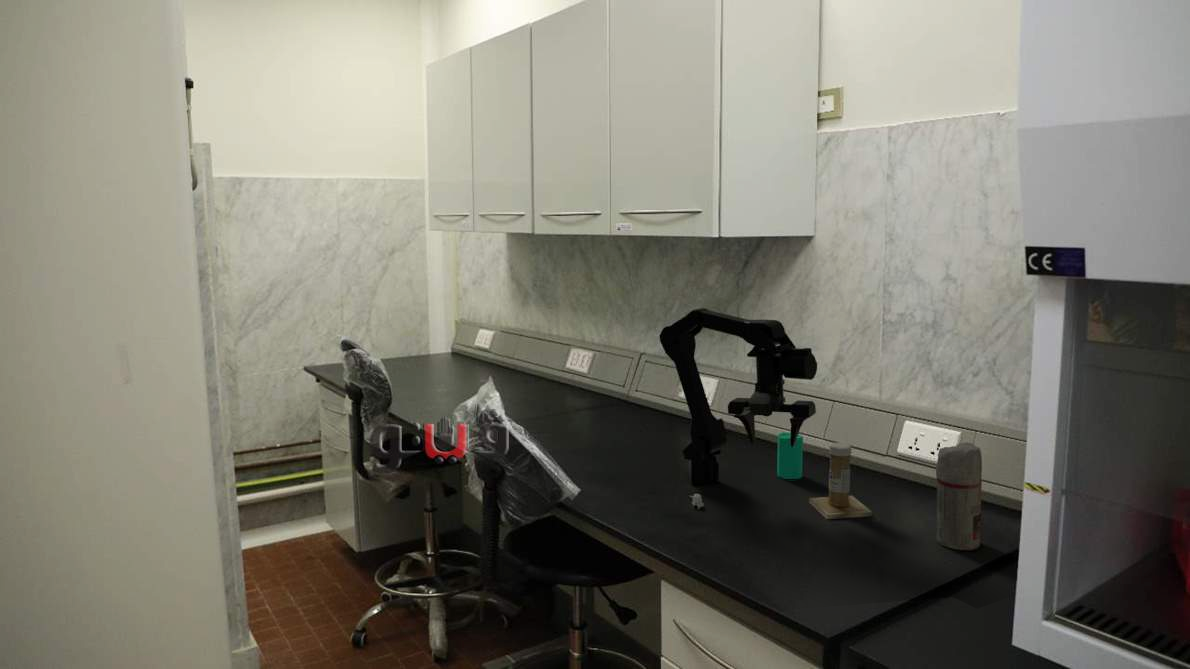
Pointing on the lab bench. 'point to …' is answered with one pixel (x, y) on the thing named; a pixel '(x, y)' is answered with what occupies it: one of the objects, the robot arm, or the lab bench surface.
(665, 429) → the lab bench surface
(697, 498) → the small grey figurine
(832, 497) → the sprinkles bottle
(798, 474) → the candle
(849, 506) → the rest pad
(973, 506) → the spray can
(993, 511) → the lab bench surface
